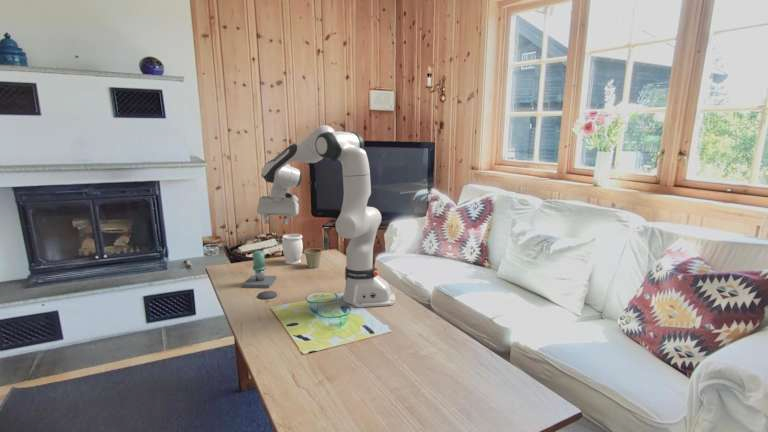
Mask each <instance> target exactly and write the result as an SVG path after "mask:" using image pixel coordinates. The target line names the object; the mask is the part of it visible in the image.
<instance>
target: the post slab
mask: <svg viewBox="0 0 768 432" xmlns="http://www.w3.org/2000/svg"><path fill="white" fill-rule="evenodd" d="M276 280H277V275H264V281H255V274H254V275H253V274H252V275H250V276H249V277H248V278H247V279H246V280H245V281H244V282H243V284H242V288H247V289H248V288H249V289H250V288H253V289H254V288H256V289H257V288H259V289H260V288H261V289H269V288H271V286H272V285H273V283H274V282H275V281H276Z"/></svg>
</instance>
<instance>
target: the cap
mask: <svg viewBox="0 0 768 432" xmlns="http://www.w3.org/2000/svg"><path fill="white" fill-rule="evenodd" d="M252 258H253V259H252V261H253V262H252V263H253V266H252V271H254V272H255V271H261V270H264V271H265V270H266V269H267V267H266V262H265V261H266V260H265V259H266V258H265V251H264V250H255V251H253V252H252Z"/></svg>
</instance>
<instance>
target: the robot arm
mask: <svg viewBox="0 0 768 432" xmlns="http://www.w3.org/2000/svg"><path fill="white" fill-rule="evenodd" d="M323 159H326V160H329V161H332V162H336V161H337V160H338V161H339V162H340V163H341V166H342V183H343V200H342V205H341V209H340V214H339V215H338V217H337V218H336V220H335V230H336V233H337V234H338V235H339V236H340V237H341V238H344V239H350V240H349V243H348V245H347V247H346V250H345V251H346V253H345V254H346V256H345V257H346V258H345V259H346V260H345V261H346V264H345V270H344V275H345V276H344V278H345V286H344V292H343V295H342V300H343V301H344V302H345V303H346V304H349V305H352V306H354V308H366V307H367V308H368V307H388V306H393V304H395V302H396V294H395V293H394V292H393V291H392V290H391V288H390V285H389V282H388V281H387V280H385V279H383V278H382V277H381V276H379V271H378V268H377V266H374V264H373V258H374V255H373V254H374V245H375V240H376V237H377V232H378V229H379V226H380V225H381V223H382V213H381V212H380V210H379V209H378V208H376V207H373V206H368V201H369V198H370V197H371V194H372V188H371V187H372V185H371V182H372V181H371V170H370V169H371V168H370V163H369V158H368V154H367V152H366V150H365V140H364V138H363V137H362V135H361V134H359V133H357V132H353V131H340V130H339V131H337V130H336V131H335V129H334V128H333V127H332V126H330V125H327V124H322V125H320V126H318V127H317V128H315V129H314V130H313V131H312V132H310V134H308V136H306V138H305V139H303V140H302V141H299V142H298V143H293V144H291V145H289V146H288V147H286V148H285V149H284V150H282V152H280V153H279V154H277V156H276V157H274V158H273V159H271V160H269V161H268V162H266V163H265V164H264V166H263V168H262V169H261V171H262V172H261V175H262V178H263V179H264V180H265V182H266V183H270V184H272V187H271V189H270V195H267V196H266V195H263V196H261V197H259V198H258V203H257V208H256V213H257V214H258V215H260V216H262V217H263V219H264V224H266V225H269V222H270V220H269V219H268V216H280V217H281V216H286V218H285V219H284V220H283V221H282V222H283V225H286V226H287V225H288V222H289V221H290V219H291V217H297V216H298V215H299V210H300V205H299V198H298V197H297V196H296V195H295V194H293V193H290V192H291V191H290V190H291V188H292V189H294V188H297V187H299V186H300V185H301V184H302V181H303V180H302V179H303V174H302V172H301V170H300V169H298V168H296V167H293V166H292V165H290V164H289V163H294V162H300V163H308V164H315V163H317V162H320V161H321V160H323Z"/></svg>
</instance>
